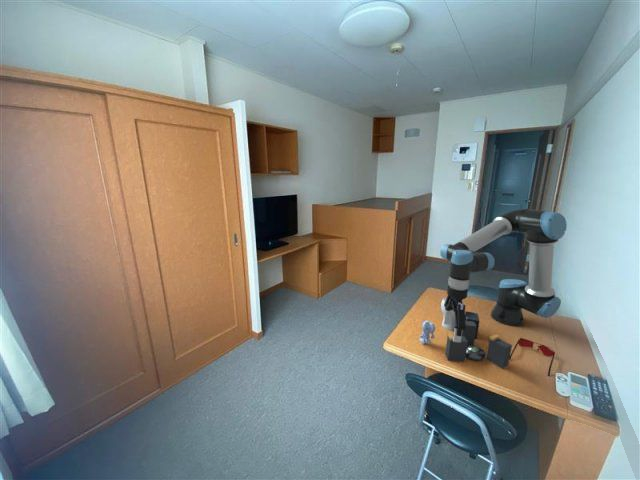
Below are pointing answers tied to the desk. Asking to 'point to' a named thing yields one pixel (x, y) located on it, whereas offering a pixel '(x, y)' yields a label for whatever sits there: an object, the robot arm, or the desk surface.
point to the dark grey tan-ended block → (498, 351)
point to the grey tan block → (469, 331)
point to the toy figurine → (427, 332)
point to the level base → (475, 353)
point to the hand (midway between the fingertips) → (451, 332)
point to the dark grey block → (456, 348)
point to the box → (472, 319)
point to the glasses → (543, 348)
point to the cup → (453, 322)
